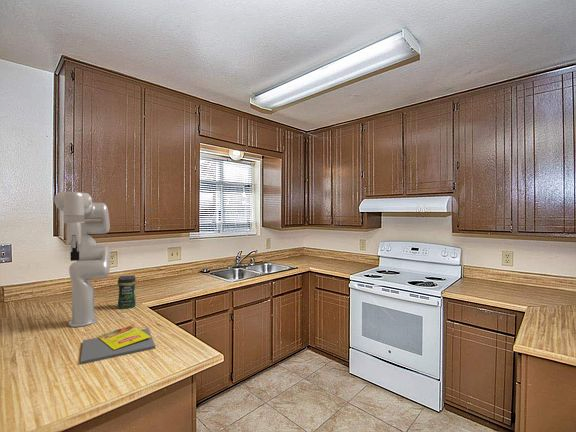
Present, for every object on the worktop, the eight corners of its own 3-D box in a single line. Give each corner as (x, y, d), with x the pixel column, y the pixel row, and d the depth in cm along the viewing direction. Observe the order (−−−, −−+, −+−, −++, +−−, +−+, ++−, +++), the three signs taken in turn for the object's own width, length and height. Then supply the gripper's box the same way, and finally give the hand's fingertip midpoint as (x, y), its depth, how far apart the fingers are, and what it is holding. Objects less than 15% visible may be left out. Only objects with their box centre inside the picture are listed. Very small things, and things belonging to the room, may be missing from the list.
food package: (132, 324, 150) (151, 335, 136) (132, 326, 150) (151, 338, 136) (96, 335, 138) (113, 348, 125) (97, 337, 138) (113, 351, 125)
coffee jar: (116, 309, 178) (116, 277, 178) (119, 305, 186) (118, 274, 185) (135, 307, 182) (135, 276, 181) (136, 304, 189) (136, 273, 189)
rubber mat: (83, 342, 135) (83, 340, 135) (148, 330, 148) (148, 328, 148) (80, 364, 116) (80, 361, 116) (155, 348, 130) (155, 345, 129)
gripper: (65, 219, 143) (66, 258, 144) (62, 220, 130) (63, 263, 131) (85, 219, 147) (85, 257, 148) (83, 220, 134) (84, 262, 135)
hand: (75, 260), depth 139 cm, fingers closed
